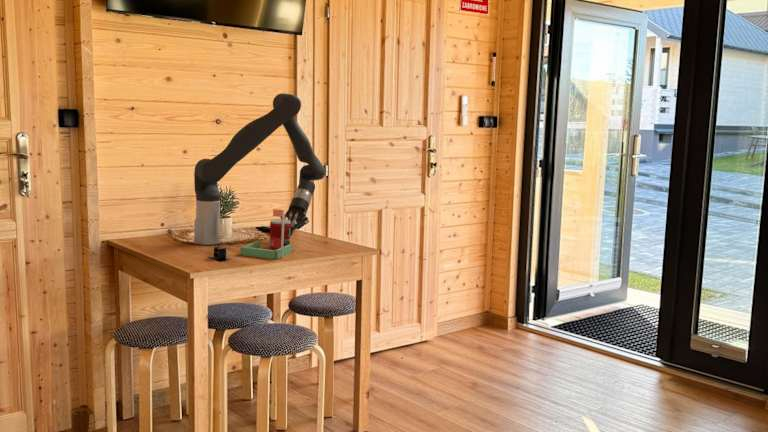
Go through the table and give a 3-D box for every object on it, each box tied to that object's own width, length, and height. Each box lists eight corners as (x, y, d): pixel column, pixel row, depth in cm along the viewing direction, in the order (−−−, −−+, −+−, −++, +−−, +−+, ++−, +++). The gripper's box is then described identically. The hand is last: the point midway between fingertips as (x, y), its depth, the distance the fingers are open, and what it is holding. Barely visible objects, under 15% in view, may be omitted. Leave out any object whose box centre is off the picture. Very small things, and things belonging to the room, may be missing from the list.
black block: (203, 257, 260) (203, 245, 259) (221, 255, 264) (221, 243, 264) (218, 264, 250) (219, 251, 250) (237, 262, 255) (237, 249, 254)
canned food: (286, 251, 276) (286, 223, 274) (266, 249, 277) (267, 221, 276) (292, 247, 283) (293, 220, 282) (273, 245, 285) (274, 218, 283)
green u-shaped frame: (240, 255, 264) (241, 207, 262) (257, 248, 278) (258, 202, 275) (279, 259, 260) (281, 211, 257) (295, 252, 274) (297, 206, 271)
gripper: (283, 195, 295) (269, 228, 286) (313, 198, 292) (300, 232, 282) (288, 206, 301) (275, 239, 291) (317, 209, 298) (305, 242, 288)
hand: (287, 235), depth 287 cm, fingers closed
